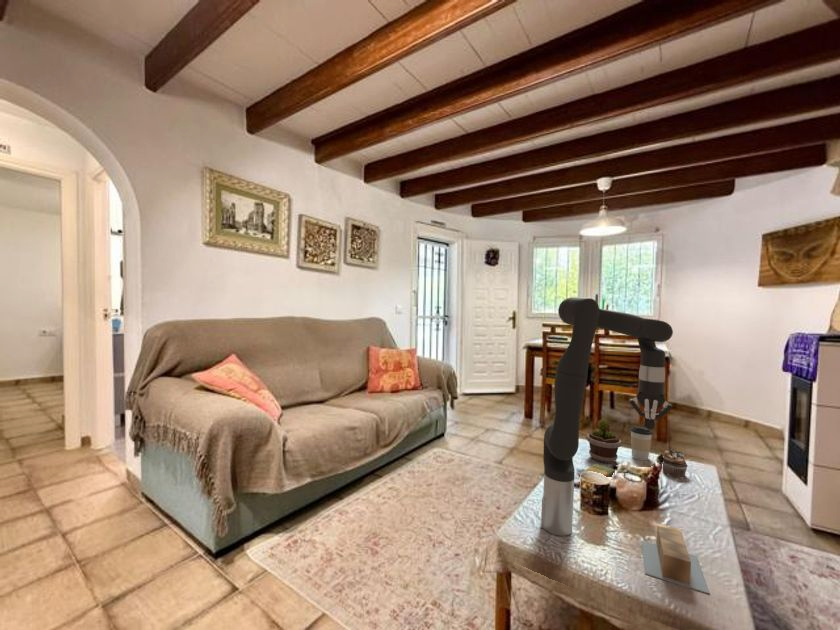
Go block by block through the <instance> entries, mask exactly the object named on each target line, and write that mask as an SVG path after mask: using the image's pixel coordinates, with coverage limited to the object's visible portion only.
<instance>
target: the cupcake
mask: <svg viewBox="0 0 840 630" xmlns="http://www.w3.org/2000/svg"><path fill="white" fill-rule="evenodd" d="M663 452H664V453H663V454H662V456H664V463H663V468H662V473H664V474H665V475H667V476H669V477H672V478H673V477H674V478H679V479H681V478H680V477H683V478H685V476H686V473H687V469H688V464H687V462H686V458H685V454H683V452H682V451H676V450H675V449H674V448H673V449H666V450H664V451H663Z"/></svg>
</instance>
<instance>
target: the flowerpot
mask: <svg viewBox="0 0 840 630" xmlns="http://www.w3.org/2000/svg"><path fill="white" fill-rule="evenodd" d="M597 423H598V424H597V428H598V429H595V430H592V431H590V432H589V433H587V435H586V437H585V439H586V440H587V442H588V443H589V444H588V446H589V449H588V450H589V451H588V453H589V455H590V457H591V458H592V460H593V461H596V462H598V463H601V464H602V463H604V464H608V463H609V464H614V463H615V461H617V459H618V454H617V453H618V450H619V448H620V447H621V446H622V444H623V443H622V440H621V439H620V437H619V436H618V435H616V434H615V433H614V432H612V429H611V428H612V426H611V421H610V420H608V418H606V417H601V418H600V419H598V422H597Z"/></svg>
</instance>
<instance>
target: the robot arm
mask: <svg viewBox="0 0 840 630" xmlns="http://www.w3.org/2000/svg"><path fill="white" fill-rule="evenodd" d="M558 316H559V318H560V320H561V321H562V322H563V323H564V324H567V325H569V326H572V334H571V339H570V342H569V344H568V346H567V347H566V349H565V350H564V352H563V354H561V357H560V359H559V360H558V362H557V365H556V369H555V370H556V371H555V375H554V385H553V388H554V389H553V391H554V392H553V394H554V403H555V404H554V406H555V407H554V408H555V413H554V414H555V415H554V421H553V424H550V425H549V426H548V427H547V428H546V429H545V432H544V435H543V467H544V468H543V469H544V471H543V489H542V490H543V493H542V495H543V496H542V498H541V513H540V528H542V529H544V530H545V531H547V532H549V533H550V534H552V535H556V536H559V537H562V536H563V537H564V536H565V537H566V536H569V535H570V534H572V532H573V526H574V525H573V524H574V523H573V519H574V518H573V517H574V501H575V500H574V496H575V495H574V493H575V478H576V477H575V475H576V474H575V473H576V472H575V467H574V457H575V456H576V454H577V453H578V450H579V440H580V420H581V419H580V418H581V413H582V408H583V403H584V396H585V391H586V388H587V387H586V386H587V382H588V381H587V380H588V373H589V371H588V370H589V363H590V360H591V359H590V358H591V352H592V348H593V342H594V339H595V334H596V331H597V328H600V329H604V330H607V331H611V332H615V333H618V334H622V335H626V336H630V337H634V338H635V337H637V342H638V346H639V350H640V366H639V370H638V371H639V372H638V387H637V388H638V390H637V394H636V395H635V396H636V397H633V398H630V399H629V402H630V404H631V406H632V407H633V408H634V410H635V411H636V412H637V414H638V415H639V416H641V417H643V419H644V423H643V426H645V427H646V428H647V429H649V430H651V431H652V429H654V428H655V421H656V419H662V418H663V417H664V416H665V415H666V414H668V413H669V412H670V411H671V410H672V409H673V405H672V404H671V403H669V402H668V401H666V398H665V388H666V387H665V385H666V384H665V382H666V370H665V369H666V367H665V366H666V352H665V351H664V350H663V349H661V348H659V347H657V345H656V343H657V342H658V343H664V342H667V341H668V340H670V339H671V338H672V337H673V333H674V331H673V328H672V326H671V325H670V324H669V323H668V322H666V321H663V320H659V319H653V318H646V317H641V316H638V315H635V314H631V313H626V312H623V311H618V310H617V311H616V310H610V309H603V308H600V306H599V304H598V302H597V301H596V299H594V298H591V297H582V296H581V297H580V296H573V297H572V296H571V297H568V298H565V299H563V300H562V301H561V302H560V304H559V306H558ZM638 402H639V403H640V405H641V406H642V407H643V409H644V411H642V408H640V406H638V404H639V403H638ZM662 405H663V407H662V408H661V409H660V407H661V406H662ZM658 409H660V410H659V411H658V412H657V410H658Z"/></svg>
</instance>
